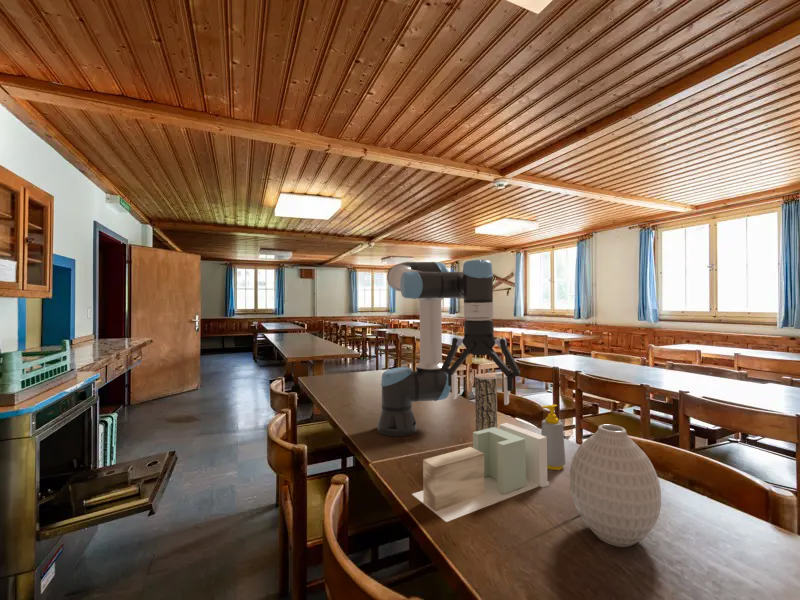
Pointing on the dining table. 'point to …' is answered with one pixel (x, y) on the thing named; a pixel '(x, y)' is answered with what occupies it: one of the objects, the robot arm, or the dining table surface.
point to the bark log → (485, 401)
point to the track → (534, 478)
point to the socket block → (502, 457)
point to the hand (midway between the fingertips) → (479, 401)
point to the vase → (615, 487)
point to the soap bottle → (554, 440)
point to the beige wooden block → (453, 478)
